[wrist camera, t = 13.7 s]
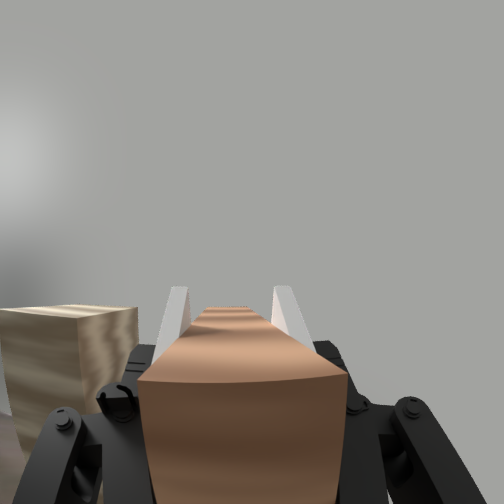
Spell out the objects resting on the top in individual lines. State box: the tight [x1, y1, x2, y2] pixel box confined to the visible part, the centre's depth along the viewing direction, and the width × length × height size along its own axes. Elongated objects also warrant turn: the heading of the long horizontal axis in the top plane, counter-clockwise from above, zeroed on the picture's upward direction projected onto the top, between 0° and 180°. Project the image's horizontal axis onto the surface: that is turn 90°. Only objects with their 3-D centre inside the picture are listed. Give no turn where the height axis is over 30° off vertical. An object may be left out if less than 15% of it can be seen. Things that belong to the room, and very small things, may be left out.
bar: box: [137, 307, 348, 504], centre depth 18 cm, size 26×4×4 cm, turn 5°
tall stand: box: [0, 304, 139, 504], centre depth 23 cm, size 16×8×30 cm, turn 6°
